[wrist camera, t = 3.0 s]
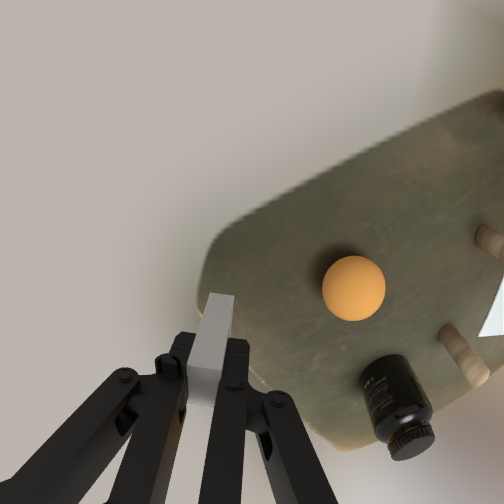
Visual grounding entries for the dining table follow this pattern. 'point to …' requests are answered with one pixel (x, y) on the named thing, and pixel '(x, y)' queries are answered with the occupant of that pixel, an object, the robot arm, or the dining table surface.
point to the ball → (353, 288)
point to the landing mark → (495, 315)
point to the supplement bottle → (398, 407)
